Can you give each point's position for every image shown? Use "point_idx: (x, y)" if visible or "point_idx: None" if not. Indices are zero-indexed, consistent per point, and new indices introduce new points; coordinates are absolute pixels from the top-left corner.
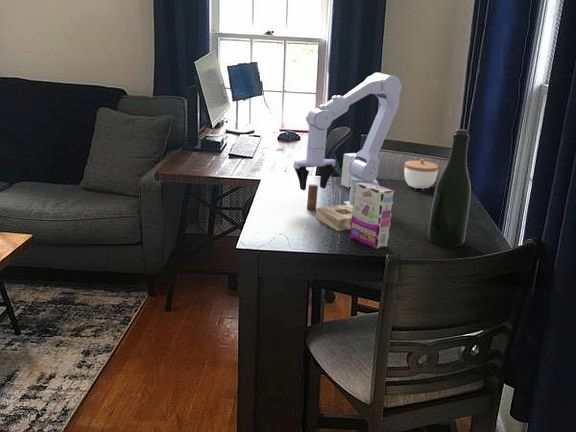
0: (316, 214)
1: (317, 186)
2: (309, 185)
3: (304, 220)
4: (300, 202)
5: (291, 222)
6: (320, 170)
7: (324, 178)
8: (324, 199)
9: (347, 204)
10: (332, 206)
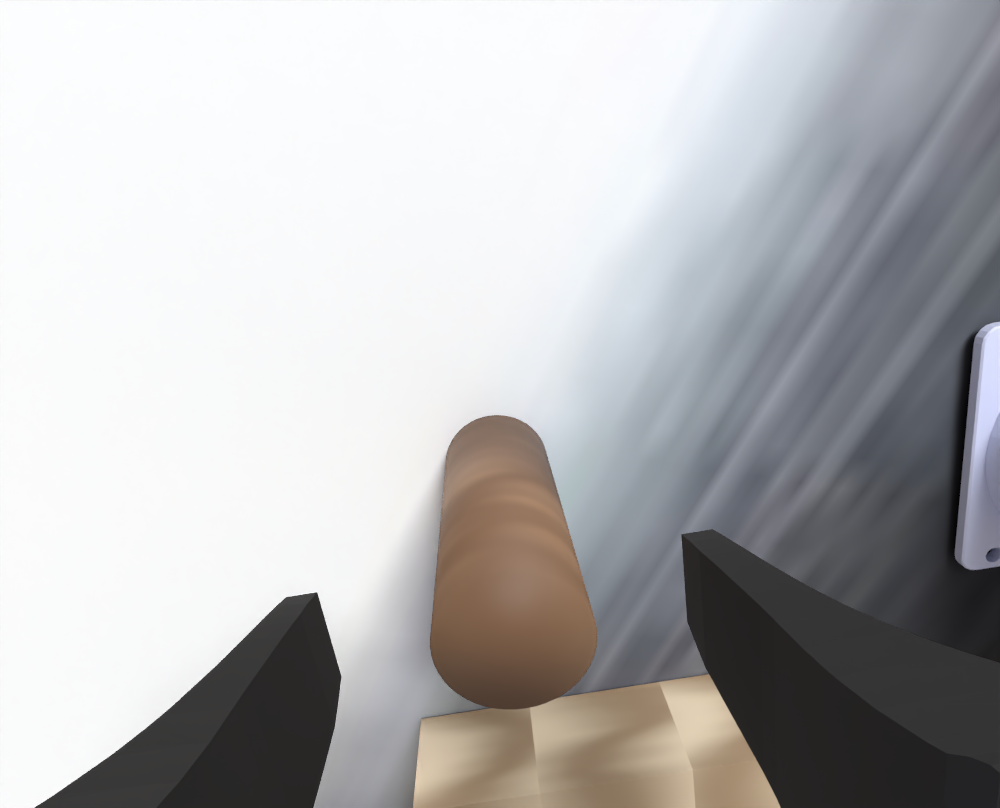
0: (418, 754)
1: (565, 690)
2: (443, 637)
3: None
4: (471, 190)
5: None
6: (853, 709)
7: (773, 743)
8: (852, 113)
9: None
10: (605, 790)
